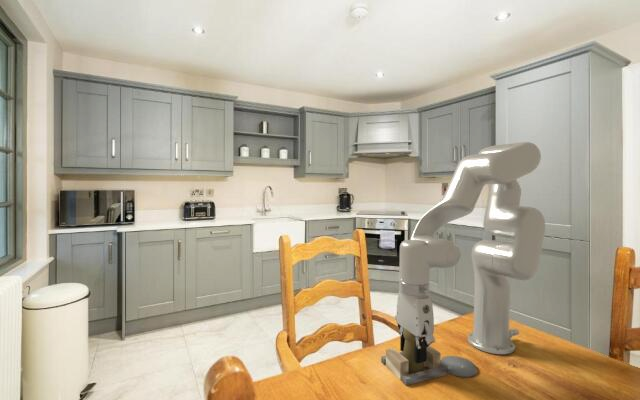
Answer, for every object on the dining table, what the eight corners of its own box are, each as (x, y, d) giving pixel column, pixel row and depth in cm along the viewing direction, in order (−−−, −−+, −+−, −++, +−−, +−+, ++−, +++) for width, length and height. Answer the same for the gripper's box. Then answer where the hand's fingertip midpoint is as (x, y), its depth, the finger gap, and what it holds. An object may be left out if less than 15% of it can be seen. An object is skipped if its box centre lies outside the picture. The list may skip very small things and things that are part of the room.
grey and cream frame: (418, 353, 91) (418, 338, 91) (446, 374, 81) (446, 357, 81) (381, 361, 87) (381, 345, 87) (405, 385, 77) (406, 367, 76)
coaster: (458, 355, 90) (458, 353, 90) (485, 372, 82) (485, 370, 82) (432, 361, 87) (432, 359, 87) (458, 380, 79) (458, 378, 78)
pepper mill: (426, 376, 80) (426, 333, 80) (401, 373, 82) (402, 331, 81) (423, 363, 86) (424, 323, 86) (400, 360, 87) (400, 321, 87)
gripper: (449, 296, 76) (448, 370, 77) (405, 277, 92) (405, 338, 93) (424, 300, 74) (422, 377, 74) (383, 280, 90) (382, 343, 90)
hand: (413, 355), depth 84 cm, fingers open, 5 cm apart
